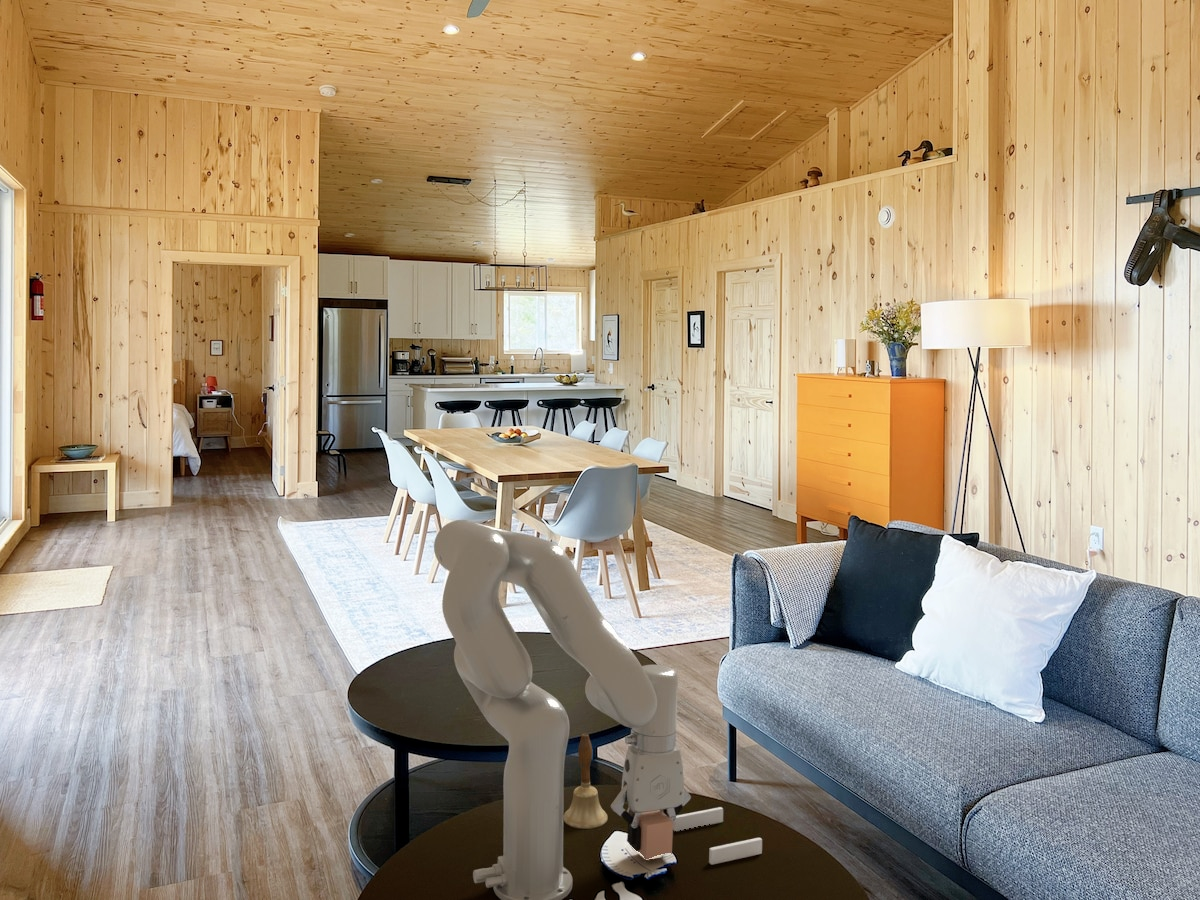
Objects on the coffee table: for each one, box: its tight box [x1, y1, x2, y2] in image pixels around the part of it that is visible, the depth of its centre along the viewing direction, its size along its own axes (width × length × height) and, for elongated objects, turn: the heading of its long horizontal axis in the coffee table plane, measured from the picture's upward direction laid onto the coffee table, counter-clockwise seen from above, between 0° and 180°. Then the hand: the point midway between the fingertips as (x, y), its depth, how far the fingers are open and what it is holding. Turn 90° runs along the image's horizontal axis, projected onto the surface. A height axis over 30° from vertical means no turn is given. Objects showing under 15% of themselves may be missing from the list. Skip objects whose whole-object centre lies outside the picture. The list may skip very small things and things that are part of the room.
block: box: [638, 810, 674, 859], centre depth 156 cm, size 5×5×6 cm
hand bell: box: [563, 733, 609, 830], centre depth 170 cm, size 8×8×16 cm
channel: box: [673, 806, 763, 866], centre depth 162 cm, size 10×14×2 cm
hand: (649, 843), depth 157 cm, fingers closed on block, 5 cm apart
